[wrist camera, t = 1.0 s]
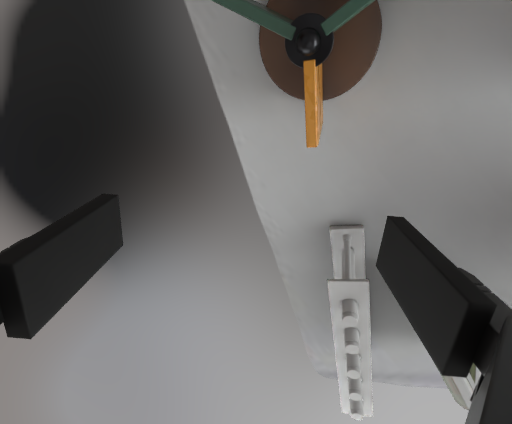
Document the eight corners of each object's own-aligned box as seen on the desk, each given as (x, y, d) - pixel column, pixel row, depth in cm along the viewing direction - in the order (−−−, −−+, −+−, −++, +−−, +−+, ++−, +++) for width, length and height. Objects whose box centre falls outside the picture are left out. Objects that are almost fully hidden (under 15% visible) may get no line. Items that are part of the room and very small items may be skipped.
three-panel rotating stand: (389, -79, 25) (416, -141, 16) (416, 89, 31) (447, 114, 22) (240, -1, 31) (197, -14, 22) (286, 132, 36) (267, 166, 27)
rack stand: (365, -63, 27) (366, -66, 26) (391, 75, 32) (392, 77, 31) (244, 1, 32) (241, 0, 31) (282, 114, 37) (281, 116, 36)
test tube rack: (329, 226, 43) (325, 295, 32) (363, 224, 41) (371, 296, 30) (341, 347, 54) (341, 429, 43) (368, 349, 53) (375, 434, 42)
